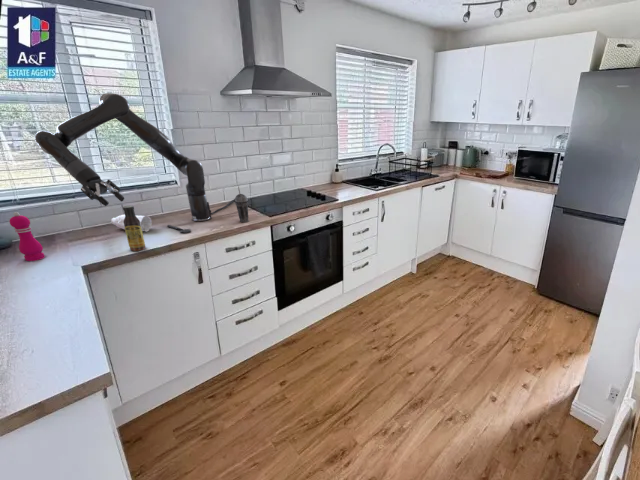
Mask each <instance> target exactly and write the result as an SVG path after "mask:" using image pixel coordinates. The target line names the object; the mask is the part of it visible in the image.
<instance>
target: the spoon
mask: <svg viewBox="0 0 640 480" xmlns="http://www.w3.org/2000/svg"><path fill="white" fill-rule="evenodd" d="M167 228H169V229H174V230H176V231H179V233H180V234H183V235H184V234H189V233H191V232H192V231H191V229H189V228H181V227H178V226H174V225H171V224H167Z"/></svg>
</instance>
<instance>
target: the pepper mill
mask: <svg viewBox="0 0 640 480" xmlns="http://www.w3.org/2000/svg"><path fill="white" fill-rule="evenodd" d="M9 224H10V226H11V227H13V228H14V229H13V230H14V231H15V233H17V235H18V238H19V243H18V250H19V252H20V253H21V254H22V255H24V256H23V257H24V260H25V261H27V262H36V261H40V260H43V259H45V258H46V256H45V253H44V252H43V250H44V247H43V245H42V244H41V242H39V241H38V240H37V239H36V238H35V237H34V235H33V233H32V231H33V230H32V227H31V226H30V225H31V220H30V219H29V218H28V217H27V216H25V215H21V214H20V212H18V211H15V212H13V216H12V217H10V218H9Z"/></svg>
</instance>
